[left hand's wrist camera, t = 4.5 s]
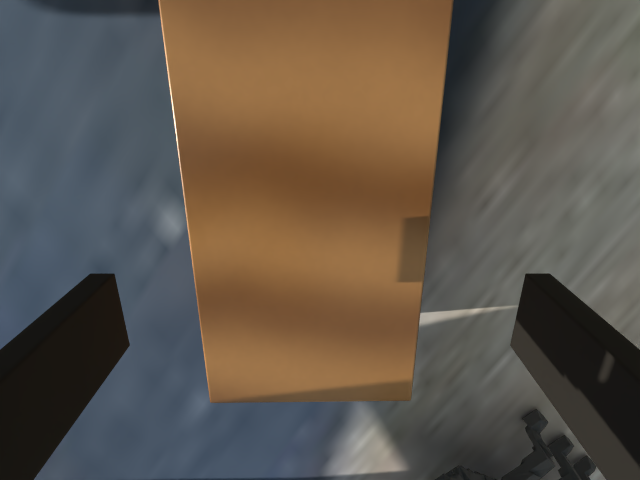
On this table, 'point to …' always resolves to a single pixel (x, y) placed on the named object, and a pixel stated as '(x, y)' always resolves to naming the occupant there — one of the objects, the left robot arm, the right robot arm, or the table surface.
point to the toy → (536, 458)
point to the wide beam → (308, 188)
